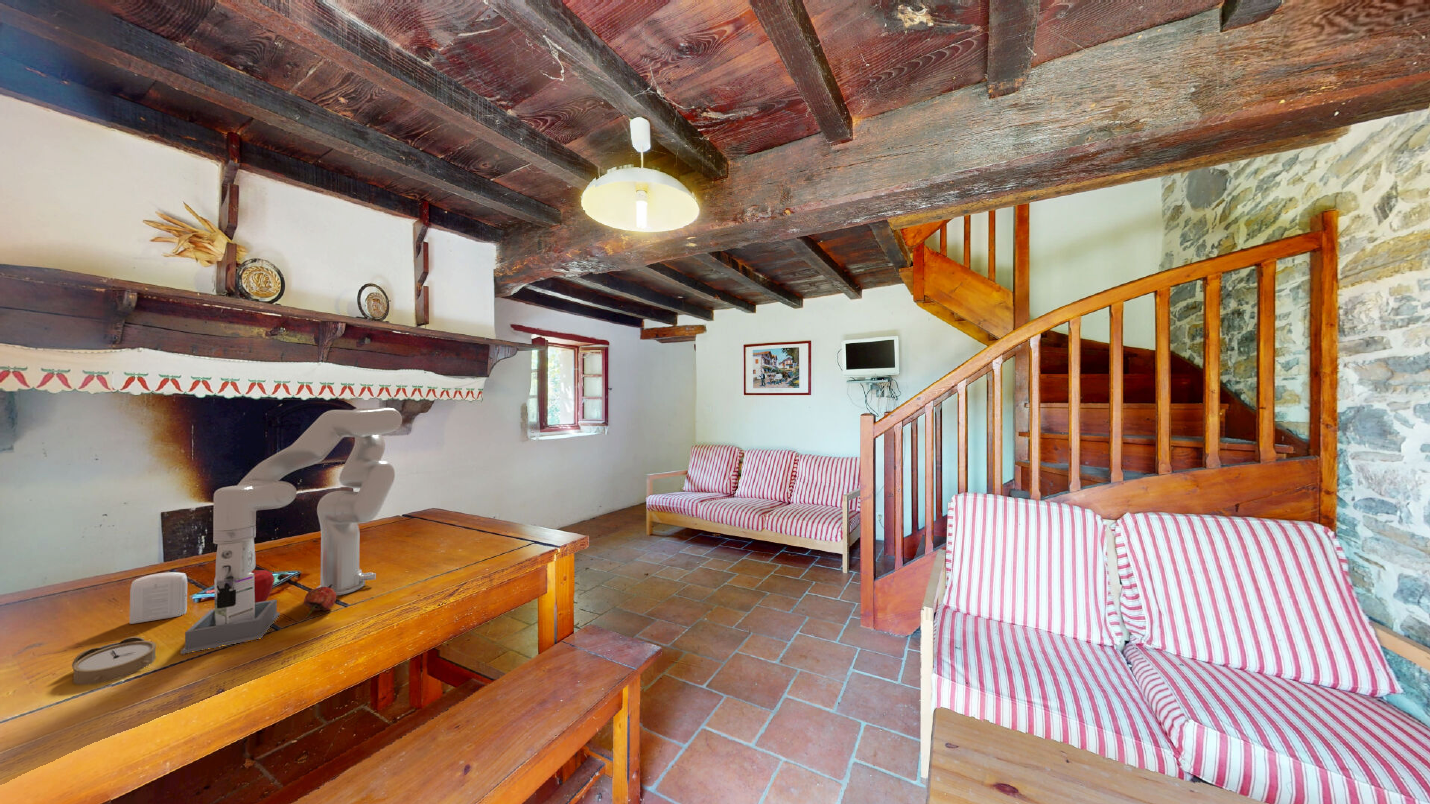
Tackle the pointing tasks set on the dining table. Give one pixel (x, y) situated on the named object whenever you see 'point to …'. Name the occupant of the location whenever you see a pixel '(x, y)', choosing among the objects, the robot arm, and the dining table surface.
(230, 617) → the syrup box
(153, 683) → the dining table surface
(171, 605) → the photo printer
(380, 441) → the robot arm
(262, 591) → the apple
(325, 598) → the pomegranate
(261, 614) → the grey square tray
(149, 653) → the alarm clock
